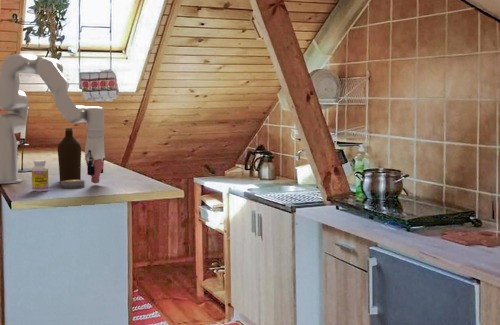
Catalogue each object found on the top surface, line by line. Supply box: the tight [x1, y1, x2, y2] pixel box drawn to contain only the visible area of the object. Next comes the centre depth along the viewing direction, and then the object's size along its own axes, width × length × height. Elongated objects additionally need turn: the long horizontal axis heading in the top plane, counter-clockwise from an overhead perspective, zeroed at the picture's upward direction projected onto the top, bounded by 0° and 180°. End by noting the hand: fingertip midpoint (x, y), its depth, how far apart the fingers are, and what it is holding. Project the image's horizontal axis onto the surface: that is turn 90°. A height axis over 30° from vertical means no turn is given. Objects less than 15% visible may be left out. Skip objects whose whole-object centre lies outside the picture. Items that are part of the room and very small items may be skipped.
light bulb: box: [90, 159, 105, 184], centre depth 289 cm, size 7×7×12 cm
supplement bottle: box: [31, 159, 49, 193], centre depth 273 cm, size 7×7×13 cm
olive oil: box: [57, 127, 82, 183], centre depth 301 cm, size 11×11×25 cm
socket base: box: [60, 179, 86, 189], centre depth 285 cm, size 10×10×3 cm
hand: (95, 173), depth 290 cm, fingers closed on light bulb, 7 cm apart
